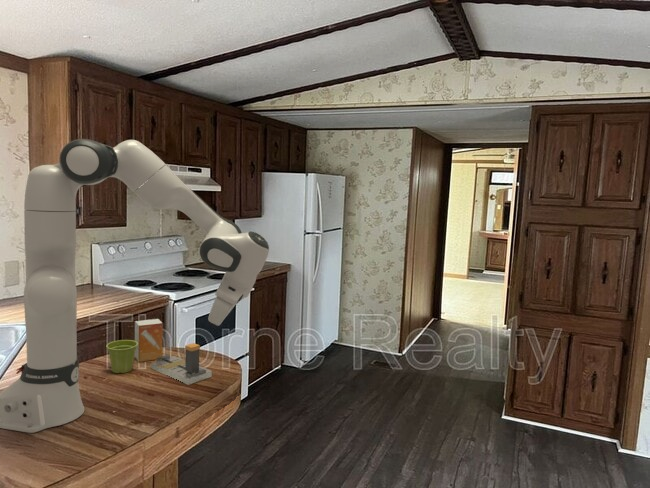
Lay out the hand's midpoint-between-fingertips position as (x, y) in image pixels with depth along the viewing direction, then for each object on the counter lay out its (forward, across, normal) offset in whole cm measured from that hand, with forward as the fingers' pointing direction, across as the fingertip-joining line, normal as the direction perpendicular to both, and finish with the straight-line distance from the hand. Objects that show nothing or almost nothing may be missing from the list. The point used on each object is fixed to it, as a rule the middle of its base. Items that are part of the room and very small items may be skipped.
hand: (218, 321), depth 141 cm
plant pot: (+35, -2, -21) cm, 41 cm away
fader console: (+27, -5, -4) cm, 28 cm away
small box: (+36, -15, -18) cm, 43 cm away
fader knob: (+22, -2, -1) cm, 22 cm away
